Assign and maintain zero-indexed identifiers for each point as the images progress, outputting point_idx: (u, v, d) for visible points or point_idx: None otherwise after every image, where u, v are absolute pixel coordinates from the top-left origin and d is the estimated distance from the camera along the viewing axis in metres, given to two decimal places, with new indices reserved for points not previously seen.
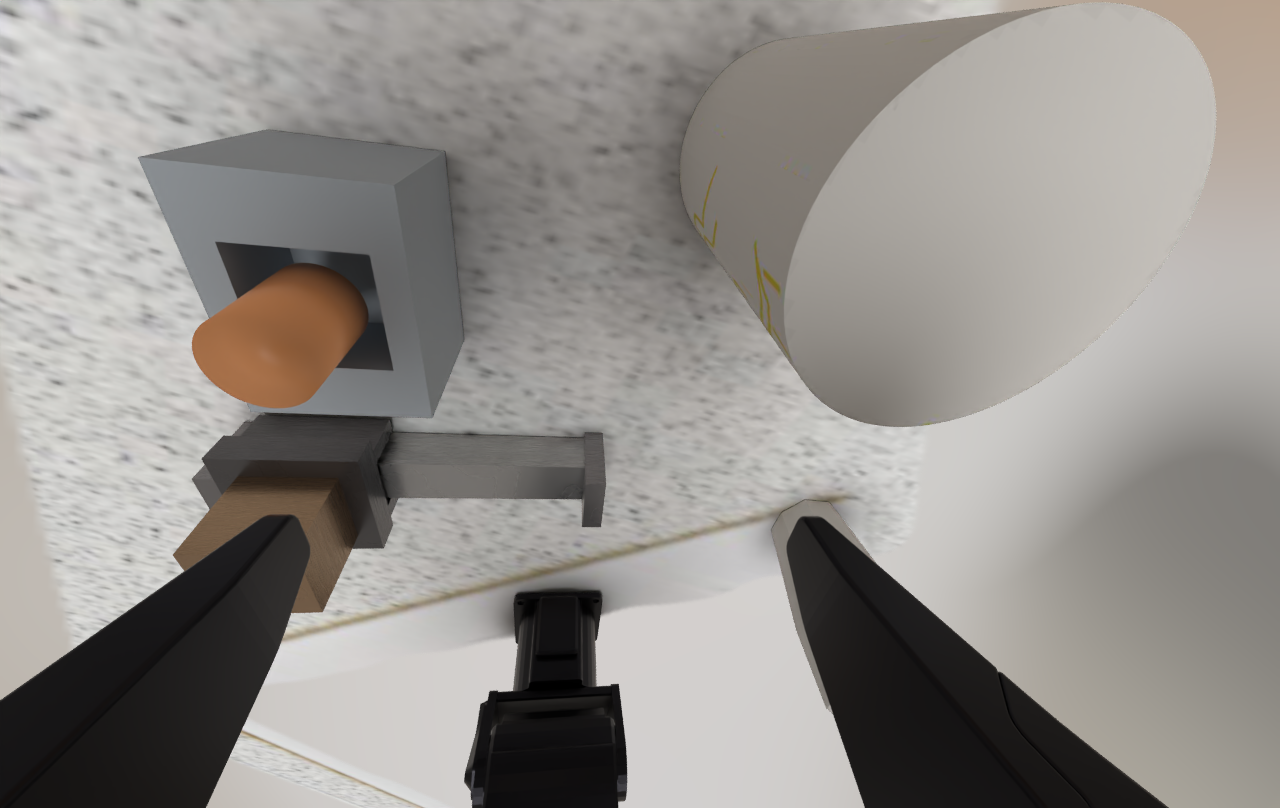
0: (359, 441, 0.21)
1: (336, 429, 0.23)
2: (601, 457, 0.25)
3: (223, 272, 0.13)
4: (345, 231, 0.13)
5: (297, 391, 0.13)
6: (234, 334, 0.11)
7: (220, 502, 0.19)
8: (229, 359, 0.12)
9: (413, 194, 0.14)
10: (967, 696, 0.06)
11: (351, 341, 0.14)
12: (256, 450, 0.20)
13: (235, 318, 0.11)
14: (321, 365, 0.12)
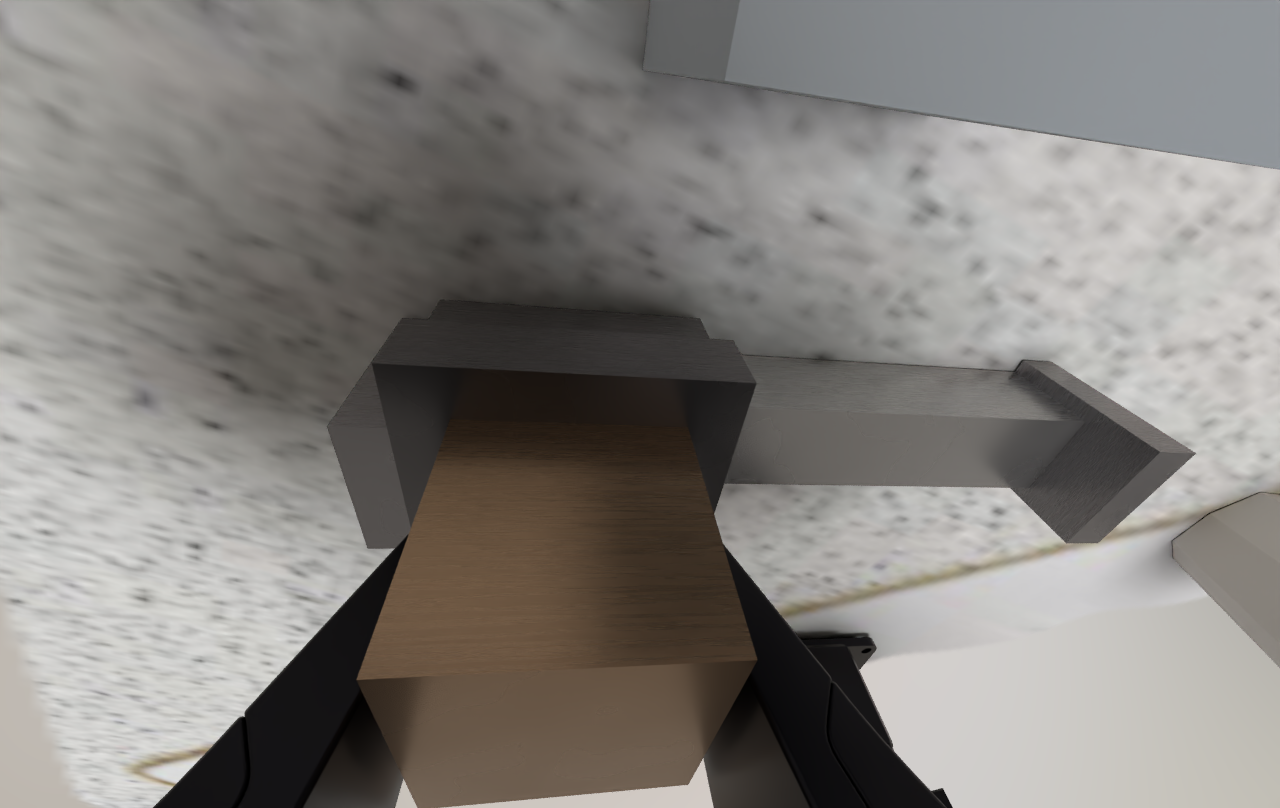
0: (715, 342, 0.09)
1: (614, 329, 0.10)
2: (1110, 402, 0.12)
3: None
4: None
5: None
6: None
7: (438, 485, 0.06)
8: None
9: None
10: (785, 708, 0.05)
11: None
12: (500, 350, 0.08)
13: None
14: None
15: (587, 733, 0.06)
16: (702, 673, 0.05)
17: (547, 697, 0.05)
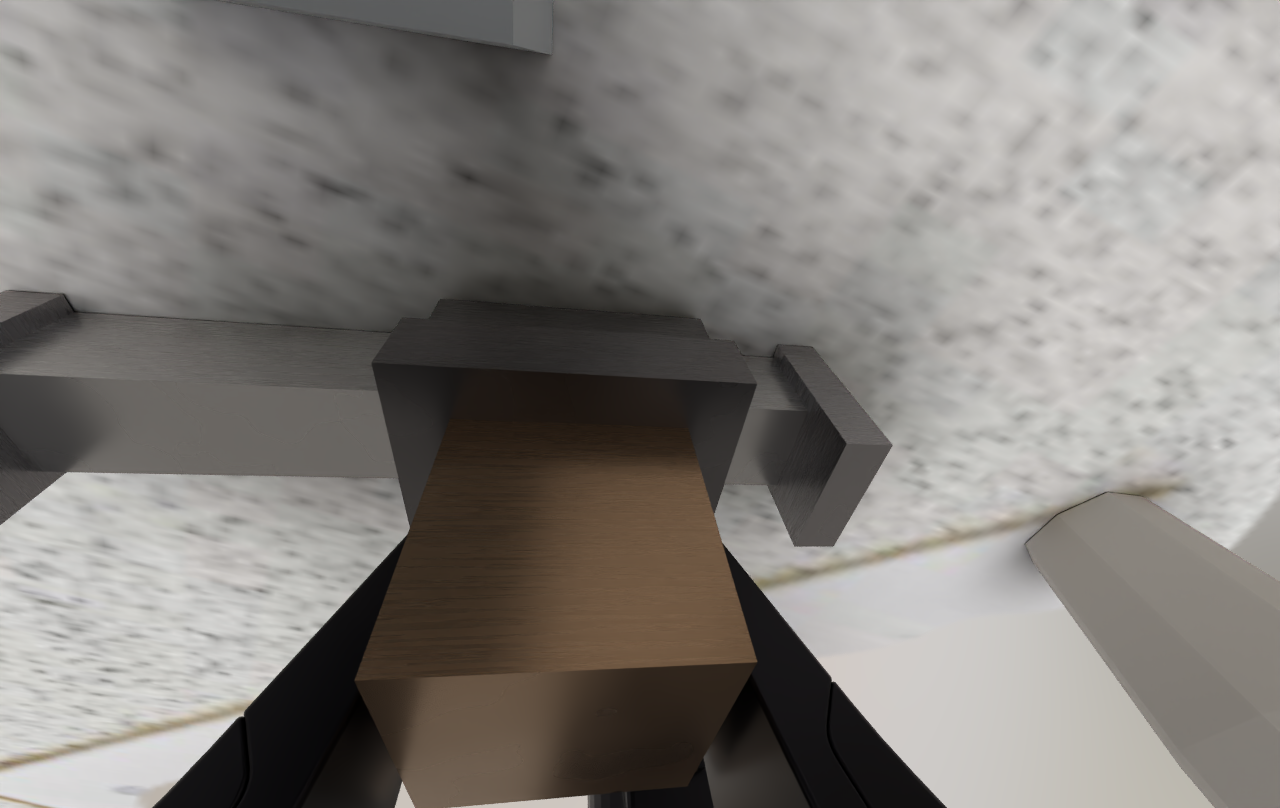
0: (715, 343, 0.09)
1: (614, 329, 0.10)
2: (841, 389, 0.11)
3: None
4: None
5: None
6: None
7: (438, 485, 0.06)
8: None
9: None
10: (785, 709, 0.05)
11: None
12: (500, 350, 0.08)
13: None
14: None
15: (586, 733, 0.06)
16: (701, 675, 0.05)
17: (545, 699, 0.05)
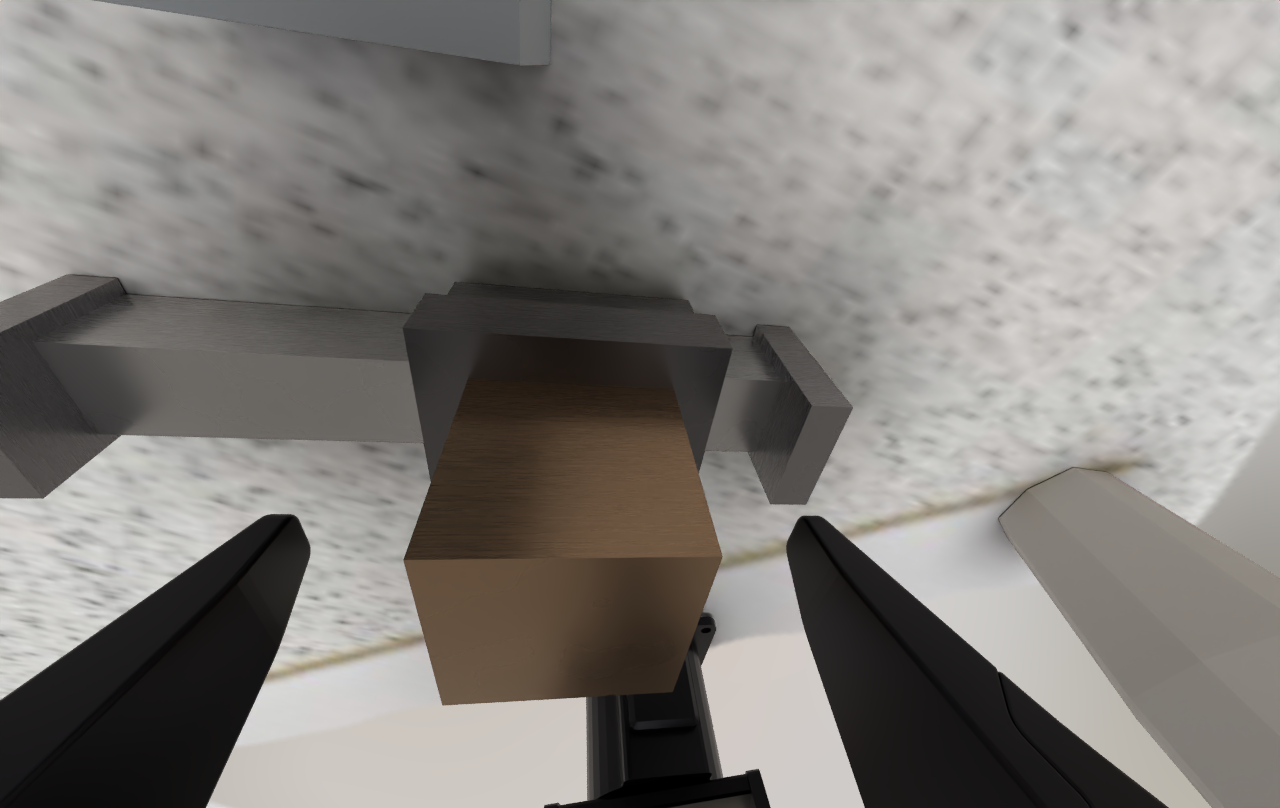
0: (698, 316, 0.10)
1: None
2: (812, 362, 0.12)
3: None
4: None
5: None
6: None
7: (460, 428, 0.08)
8: None
9: None
10: (967, 696, 0.06)
11: None
12: (510, 320, 0.09)
13: None
14: None
15: (584, 626, 0.07)
16: (677, 568, 0.06)
17: (552, 586, 0.06)
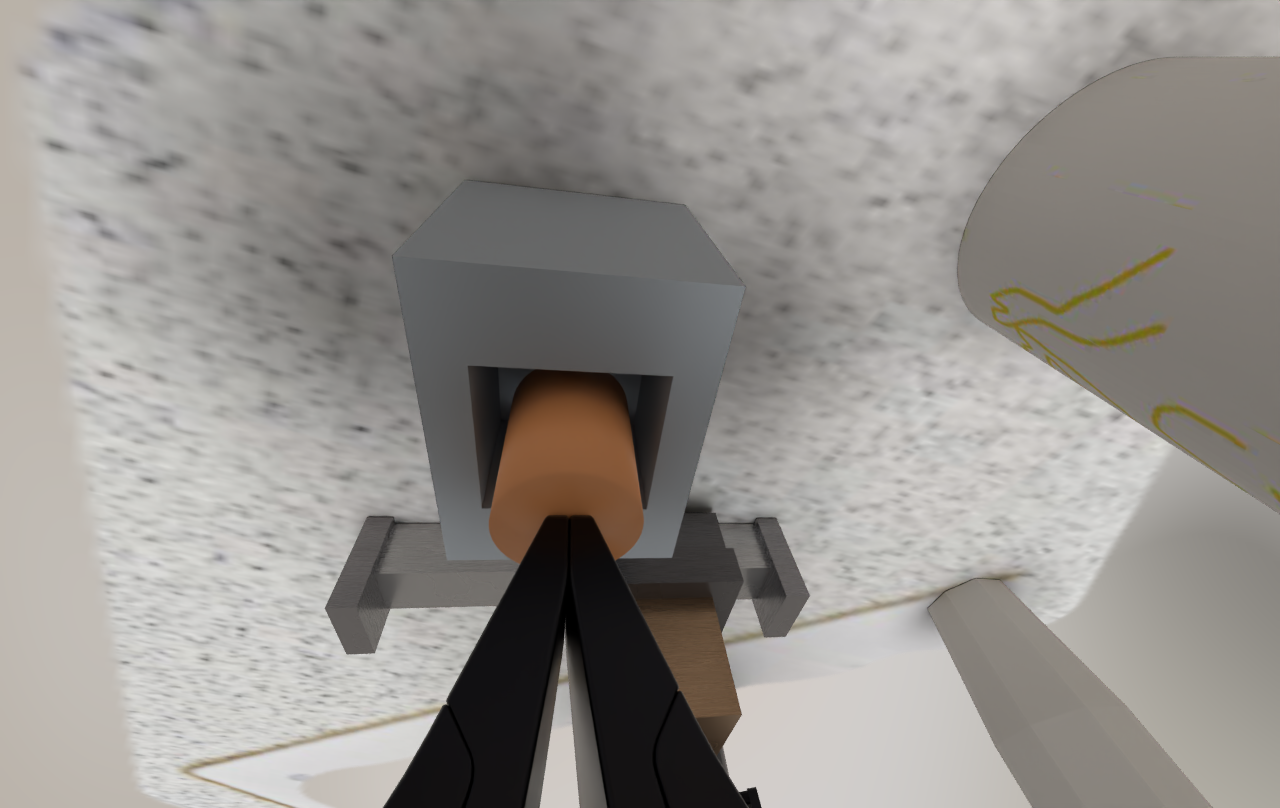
0: (724, 551, 0.18)
1: None
2: (788, 554, 0.20)
3: (466, 403, 0.09)
4: (653, 348, 0.09)
5: None
6: (554, 495, 0.08)
7: None
8: (533, 523, 0.08)
9: None
10: (616, 720, 0.05)
11: None
12: (630, 569, 0.17)
13: (566, 475, 0.08)
14: (642, 521, 0.09)
15: None
16: (722, 718, 0.15)
17: None
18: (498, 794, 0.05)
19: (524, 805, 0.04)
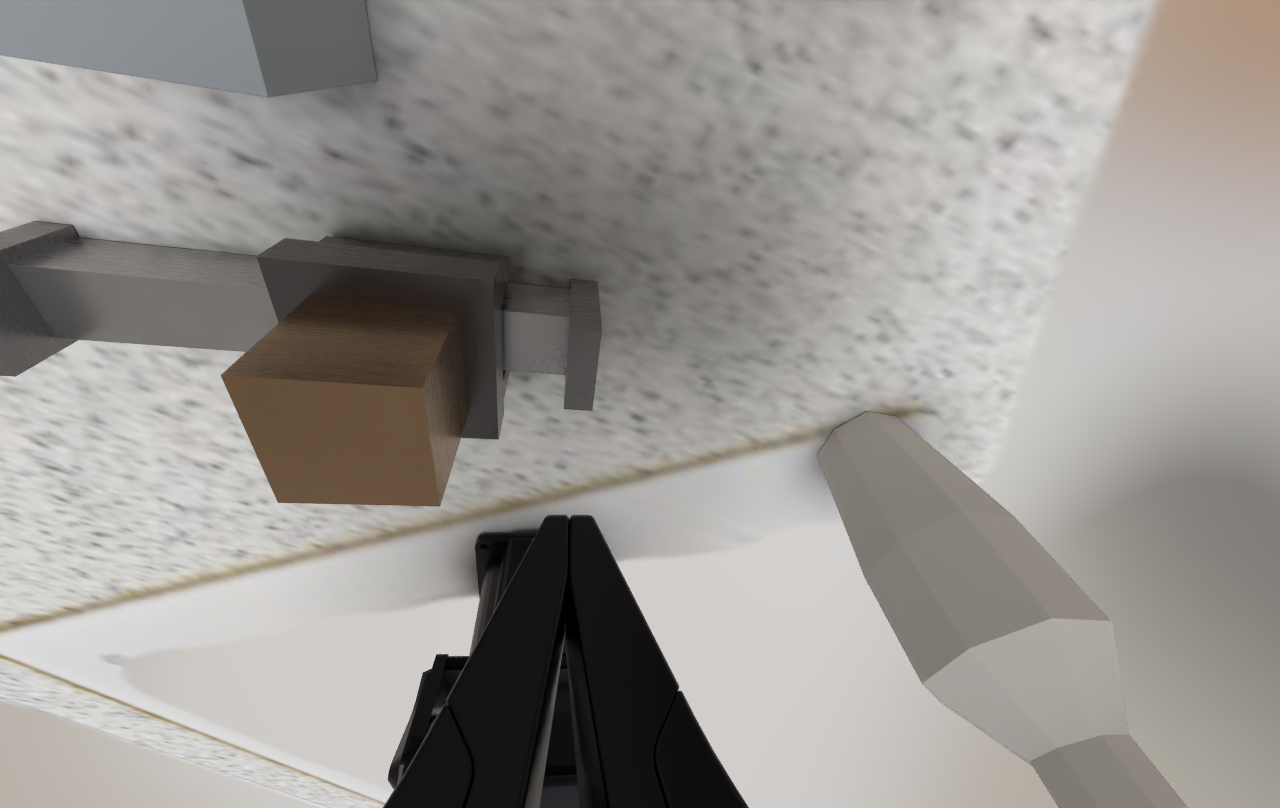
0: (486, 262, 0.14)
1: None
2: (595, 304, 0.16)
3: None
4: None
5: None
6: None
7: (288, 320, 0.12)
8: None
9: None
10: (616, 720, 0.05)
11: None
12: (338, 256, 0.13)
13: None
14: None
15: (354, 439, 0.11)
16: (397, 395, 0.11)
17: (320, 403, 0.10)
18: (498, 794, 0.05)
19: (524, 805, 0.04)
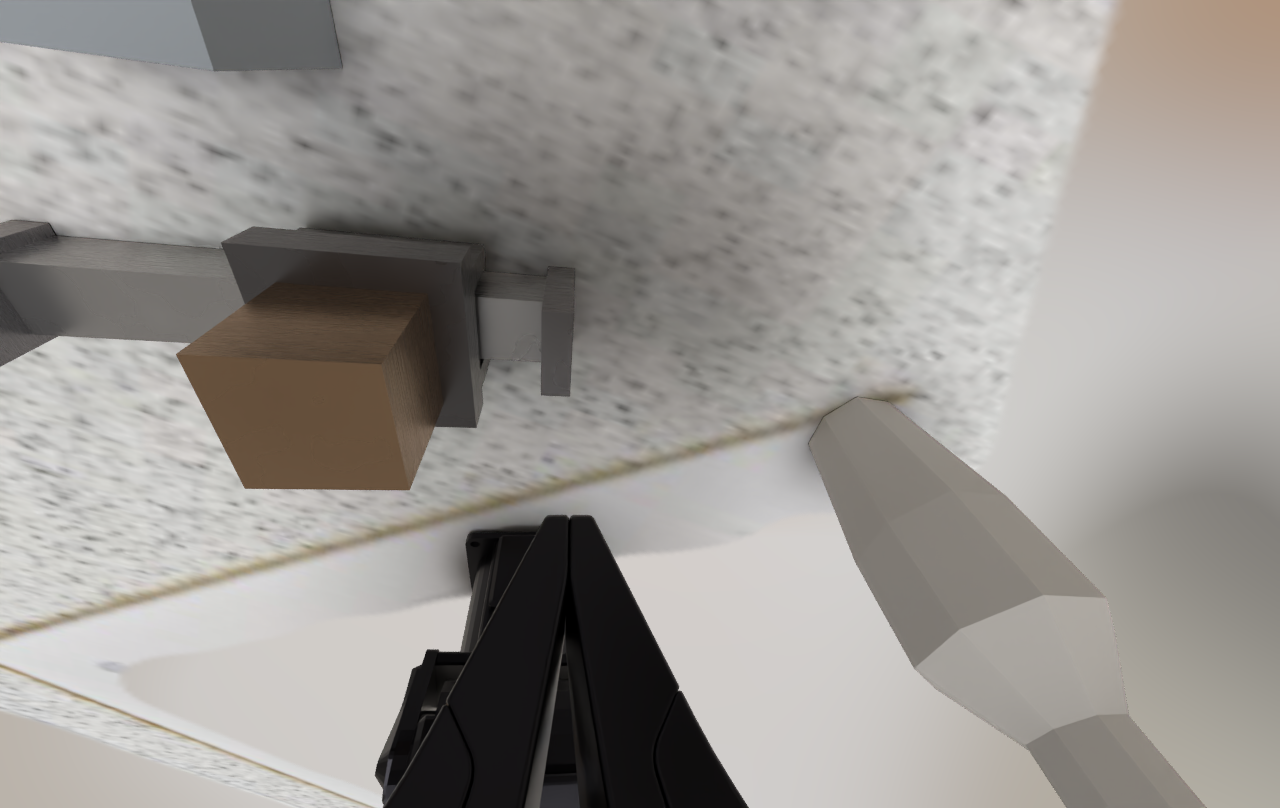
0: (455, 246, 0.14)
1: None
2: (570, 288, 0.16)
3: None
4: None
5: None
6: None
7: (252, 304, 0.12)
8: None
9: None
10: (616, 720, 0.05)
11: None
12: (305, 242, 0.13)
13: None
14: None
15: (316, 420, 0.11)
16: (355, 372, 0.10)
17: (279, 382, 0.10)
18: (498, 794, 0.05)
19: (524, 805, 0.04)
